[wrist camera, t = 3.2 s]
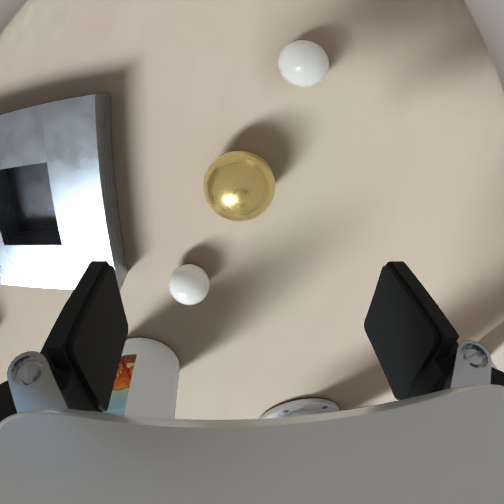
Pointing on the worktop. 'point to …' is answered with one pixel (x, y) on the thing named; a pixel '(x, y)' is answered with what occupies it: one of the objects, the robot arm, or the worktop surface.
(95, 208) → the plate
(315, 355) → the worktop surface
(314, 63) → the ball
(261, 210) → the brass ball
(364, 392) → the worktop surface
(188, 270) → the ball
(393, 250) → the worktop surface
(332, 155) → the worktop surface
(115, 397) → the milk bottle
